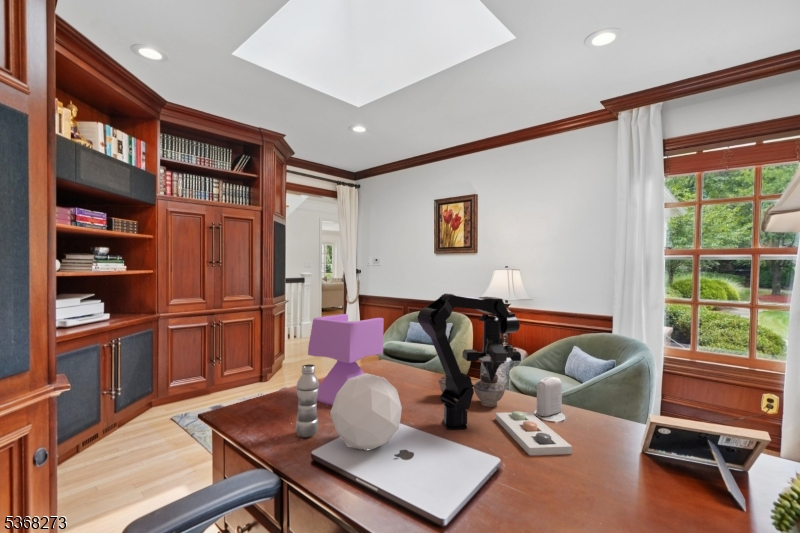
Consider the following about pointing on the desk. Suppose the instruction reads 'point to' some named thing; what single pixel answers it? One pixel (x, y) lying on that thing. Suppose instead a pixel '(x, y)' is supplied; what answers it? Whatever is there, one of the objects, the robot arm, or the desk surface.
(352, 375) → the purple table lamp
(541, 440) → the charcoal button
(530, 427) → the terracotta button
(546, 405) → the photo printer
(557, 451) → the button console
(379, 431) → the geometric orb
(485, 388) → the pottery
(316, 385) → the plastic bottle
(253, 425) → the desk surface
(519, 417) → the sage button
